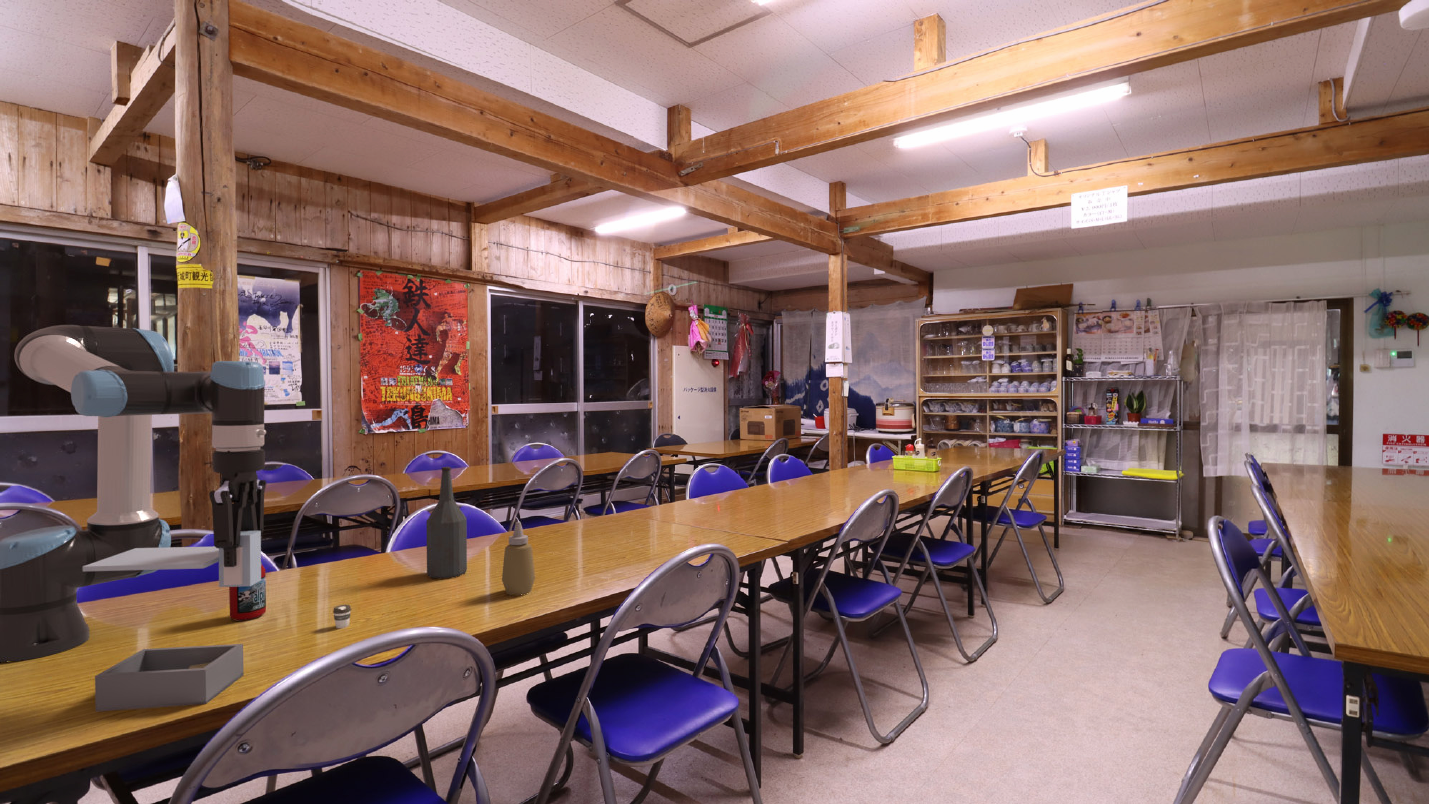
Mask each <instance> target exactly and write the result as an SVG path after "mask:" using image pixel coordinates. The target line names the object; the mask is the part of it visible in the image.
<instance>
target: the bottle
mask: <svg viewBox="0 0 1429 804" xmlns="http://www.w3.org/2000/svg"><path fill="white" fill-rule="evenodd" d="M451 470H452V467H450V466H442V467H441V479H440V489H439V499H438V501H437V504H436V505H435V507H434V508H433V510H432V512H431V513H430V515H428V518H427V520H426V532H425V533H426V574H427V576H428V577H429V576H430V577H429V578H431V579H433V578H441V579H440V580H443V579H442V578H447V579H450V578H449V577H455V578H457V577H456V576H459V577H461V576H463V575H466V572H467V570H468V551H467V549H468V542H467V540H468V538H467V537H468V535H467V534H468V533H467V532H468V530H467V528H468V527H467V517H466V515H465V514H464V513H463V511H462V509H461V508H460V507H459V505H458V503H456V501H455V498H454V491H453V489H454V488H453V482H452V481H453V480H452V475H451V474H452V472H451ZM462 574H463V575H462ZM460 575H461V576H460Z"/></svg>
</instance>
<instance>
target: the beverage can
mask: <svg viewBox="0 0 1429 804" xmlns="http://www.w3.org/2000/svg"><path fill="white" fill-rule="evenodd" d="M266 573H267V572H266V568H265V566H264V565H263V563H262V562H261V581H259V582H257V583H255V584H253V585H252V586H241V587H228V588H229V591H228V592H229V601H228V603H229V617H230V619H232V620H235V621H238V622H239V621H240V622H241V621H251V620H254V619H258V618H260V617H261V616H263V615H264V614H265V613H266V612H267V585H266V584H267V576H266V575H267V574H266Z"/></svg>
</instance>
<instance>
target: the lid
mask: <svg viewBox="0 0 1429 804" xmlns="http://www.w3.org/2000/svg"><path fill="white" fill-rule="evenodd" d="M261 535H262V534H261V531H241V534H240V545H239V547H242V546H243V584H241V585H224V561H223V548H216V547H215V546H181V547H179V546H177V547H175V546H174V547H171V546H170V547H169V548H135V549H132V550H129V551H126V552H123V553H120V554H117V555H115V556H112V557H109V558H106V559H103V560H100V561H97V562H94V563H92V564H89V565H86V566H83V571H120V570H157V571H158V570H188V569H189V570H190V569H191V570H193V569H197V570H198V569H205V568H208V567H210V566H212V565H214V564H216V563H218V588H229V587H241V586H252V585H253V584H255V583H257V582H259V581H261V563H262V547H261V546H262V539H261Z"/></svg>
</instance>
